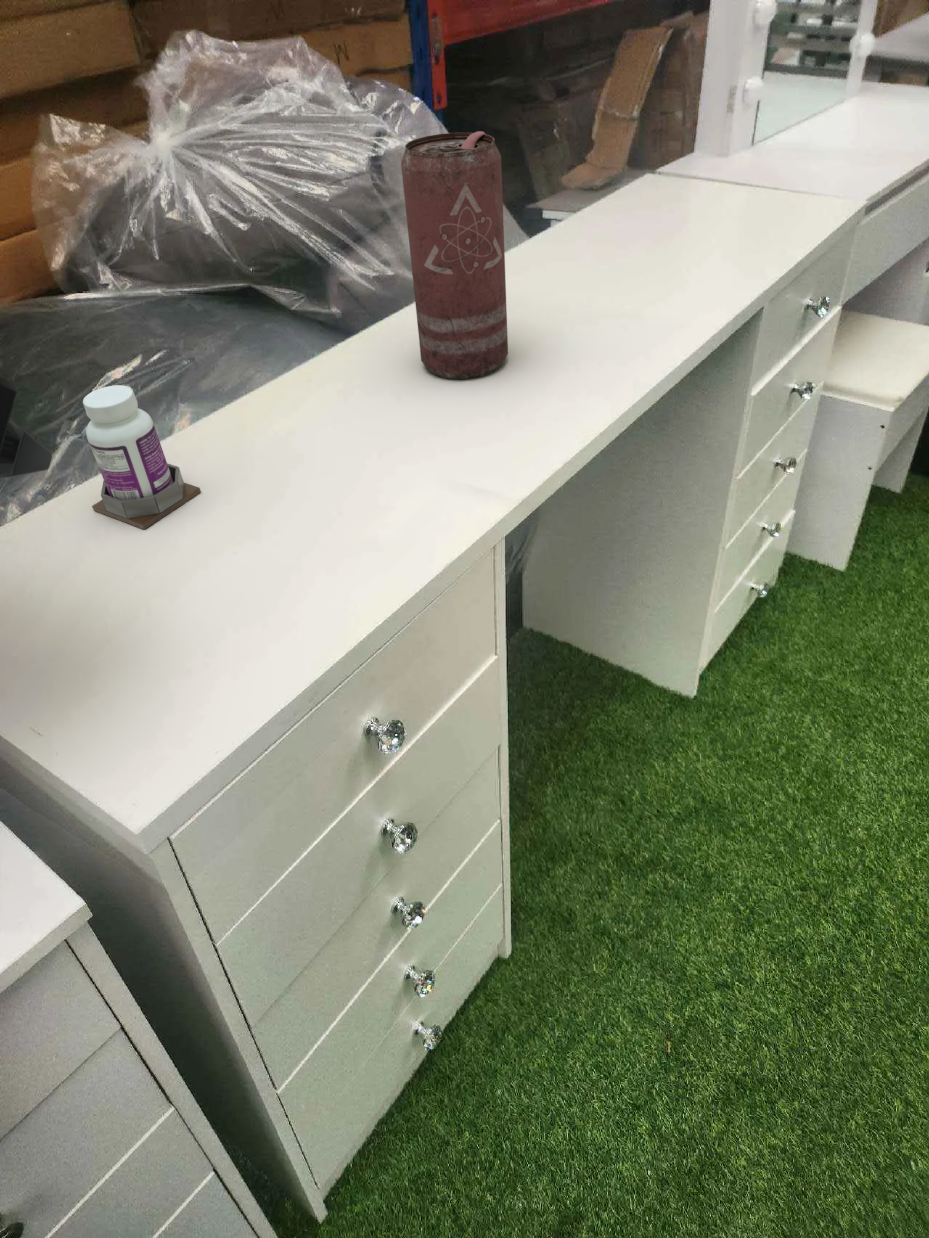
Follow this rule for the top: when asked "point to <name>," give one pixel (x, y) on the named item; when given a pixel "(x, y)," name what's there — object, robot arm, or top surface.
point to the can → (457, 252)
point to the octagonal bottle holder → (148, 502)
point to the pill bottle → (125, 444)
